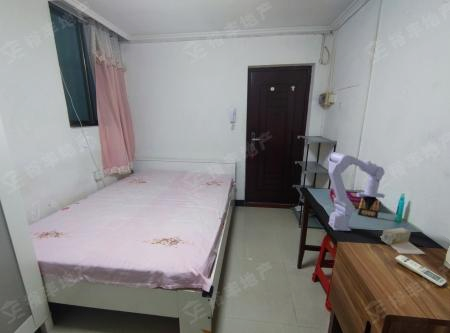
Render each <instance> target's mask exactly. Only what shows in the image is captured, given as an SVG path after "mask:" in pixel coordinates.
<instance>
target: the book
mask: <svg viewBox="0 0 450 333" xmlns="http://www.w3.org/2000/svg"><path fill="white" fill-rule="evenodd" d="M345 191H346V194H347V198H348V199H349V200H350V201H351V202H352V205H353V206H354V207H355V210H359V206H360V202H361V199H362V198H363V197H358V196H357V193H361V192H362V191H354V190H345ZM330 197H331V198H330ZM329 198H330V199H331V201H332V200H333V201H332V203H333V202H334V199H335V198H336V196H335V193H334V189H333V188H331V189H330V191H329ZM378 200H379V199H378V198H377V201H376V205H377V202H378ZM363 203H364V198H363ZM379 206H382V201H380V203H379ZM362 207H363V206H362ZM372 207H373V205H372ZM375 209H376V208H375ZM380 211H381V210H380V209H379V210H378V213H379V212H380Z"/></svg>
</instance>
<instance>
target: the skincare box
mask: <svg viewBox="0 0 450 333" xmlns="http://www.w3.org/2000/svg"><path fill="white" fill-rule="evenodd" d="M411 235H412V234H411V231H409V230H407V229H406V228H404V227H399V228H389V229H388V228H387V229H383V231H382V235H381V236H382V238H381V237H380V238H381V240H380V241H382V242H384V243H385V244H387V245H388V246H390V245H391V244H399V243H407V242H409V239H410V237H411Z"/></svg>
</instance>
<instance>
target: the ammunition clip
mask: <svg viewBox="0 0 450 333" xmlns="http://www.w3.org/2000/svg"><path fill="white" fill-rule="evenodd" d="M380 202H381V201H380V199H378V202H377V205H376V202H374V204H373V207H372V206H371V208H370V209H366V206H365V200H364V203H363V198H362V199H361V202H360V206H359V209H357V210H358V211H357V215H358V216H361V217H367V218H372V219H378V217H379V212H378V210H380V209H379V208H380V205H379V203H380ZM362 206H363V207H362ZM375 208H376V209H375Z"/></svg>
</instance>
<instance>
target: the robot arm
mask: <svg viewBox="0 0 450 333" xmlns="http://www.w3.org/2000/svg"><path fill="white" fill-rule="evenodd" d="M327 162H328V164H329V165H328V175H329V176H328V177H329V179H330V182H331V185H332V189H334V193H335V196H336V198H335V199H334V203H333V207H334V209H335V210H334V211H333V212H331V213H330V214H329V221H328V225H329V226H330V227H331V228H332V229H333V230H334V231H349V232H350V231H351V232H352V229H351V228H350V227H349V224H350V218H351V216H353V214H354V213H355V210H356V209H355V207H354V206H353V205H352V202H351V201H350V200H349V199H348V198H347V194H346V191H347V190H346V188H345V183H344V180H343V177H342V173H344V172H345V171H346V170H347V169H348V167H350V166H352V165H354V166H357V167H358V169H359V170H360V171H362V172H365V173H366V174H367V179H366V180H367V181H366V185H365V191H363V192H362V191H360V192H361V193H357V196H358V197H363V198H364V200H365V206H366V209H370V208H371V206H372V205H373V204H374V202H376V201H377V199H378V198H382V199H384V198H385V196H386V194H385V193H380V192H379V187H380V181H381V180H382V178H383V176H384V175H385V169H384V167H383V166H379V165H377V164H376V163H372V162H371V160H368V159H367V160H361V159H359V158H357V157H355V156H352V155H349V154H345V153H341V152H340V153H339V152H336V151H334V152H332V153H330V155H329V157H328V158H327Z"/></svg>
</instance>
